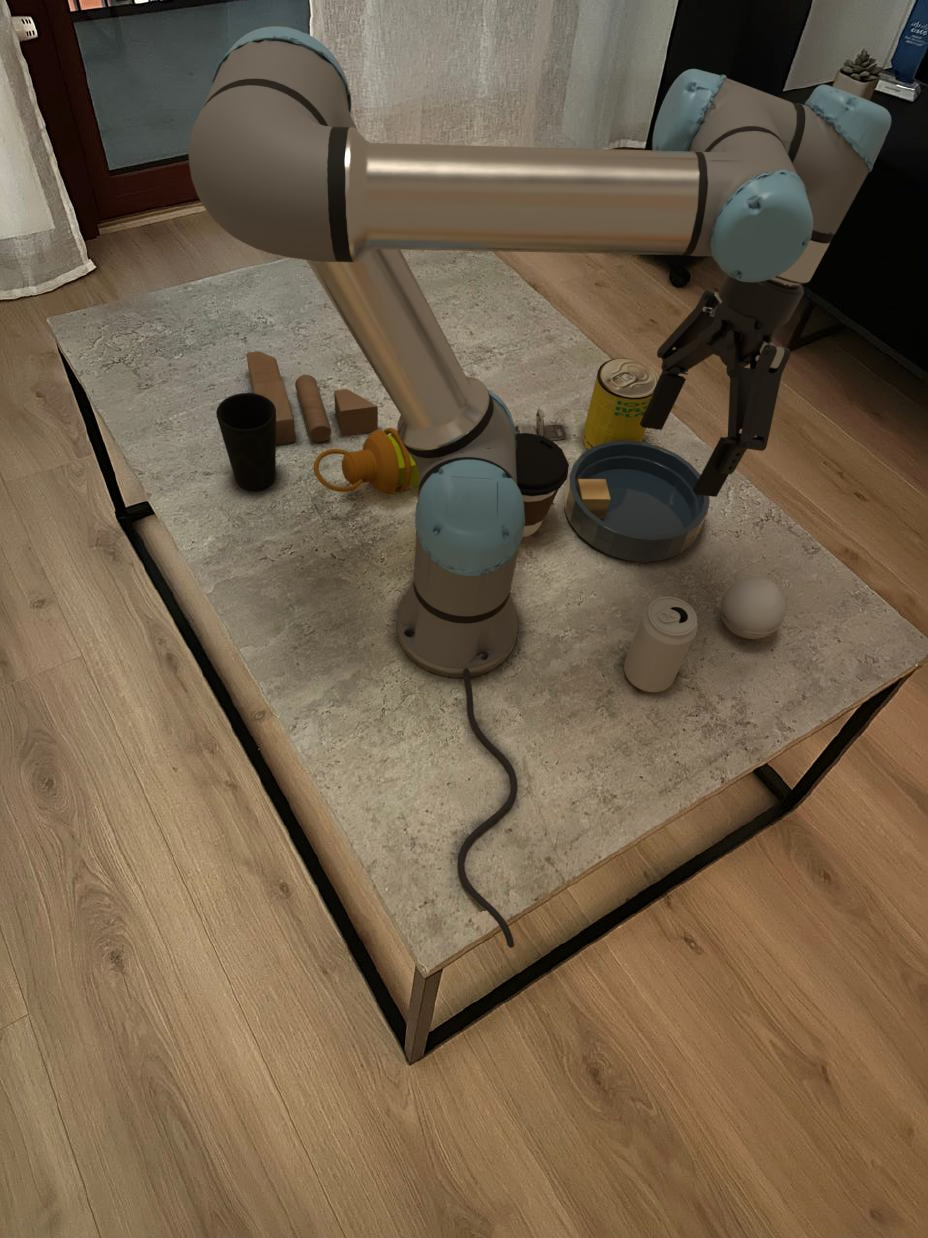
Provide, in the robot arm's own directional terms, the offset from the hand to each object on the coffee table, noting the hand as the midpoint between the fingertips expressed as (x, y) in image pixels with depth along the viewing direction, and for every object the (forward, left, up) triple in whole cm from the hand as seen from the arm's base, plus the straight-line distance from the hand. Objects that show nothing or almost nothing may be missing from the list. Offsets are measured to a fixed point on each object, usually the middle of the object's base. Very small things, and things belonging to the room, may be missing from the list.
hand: (676, 459), depth 100 cm
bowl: (+16, +3, -25) cm, 30 cm away
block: (+14, +8, -24) cm, 29 cm away
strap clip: (+27, +20, -25) cm, 42 cm away
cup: (+2, +55, -25) cm, 60 cm away
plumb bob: (+9, +36, -25) cm, 44 cm away
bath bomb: (+1, -15, -25) cm, 29 cm away
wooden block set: (+20, +54, -25) cm, 62 cm away
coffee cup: (+8, +17, -25) cm, 31 cm away
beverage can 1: (+30, +9, -25) cm, 40 cm away
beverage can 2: (-11, -5, -25) cm, 28 cm away
